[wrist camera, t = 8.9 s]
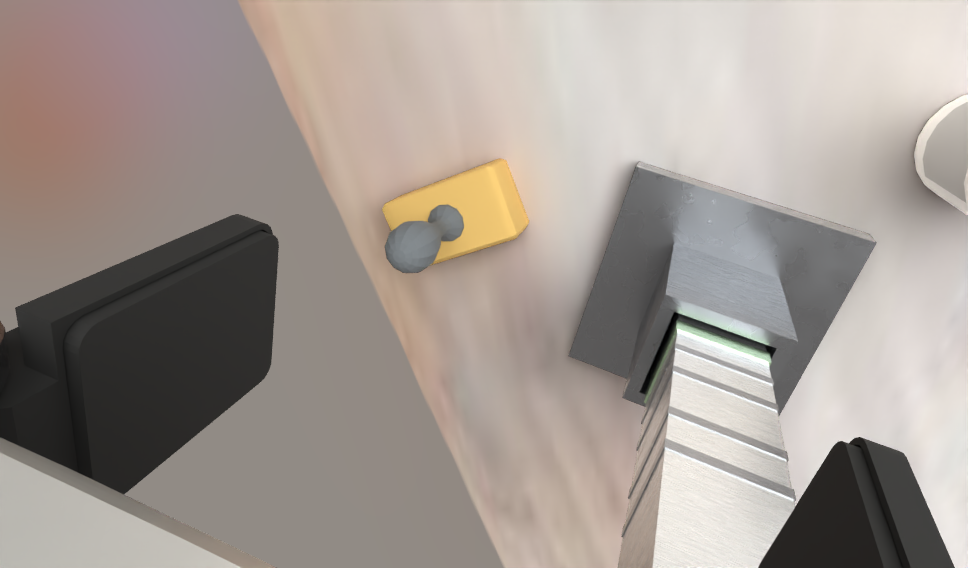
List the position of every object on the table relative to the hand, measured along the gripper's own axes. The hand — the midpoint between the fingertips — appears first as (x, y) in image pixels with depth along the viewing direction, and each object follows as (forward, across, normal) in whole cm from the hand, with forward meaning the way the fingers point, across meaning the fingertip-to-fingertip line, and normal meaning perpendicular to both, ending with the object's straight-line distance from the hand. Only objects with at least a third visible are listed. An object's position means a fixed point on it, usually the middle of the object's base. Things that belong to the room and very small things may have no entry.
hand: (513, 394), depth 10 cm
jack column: (+28, -7, +12) cm, 31 cm away
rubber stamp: (+38, +12, +12) cm, 42 cm away
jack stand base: (+37, -8, +12) cm, 40 cm away
